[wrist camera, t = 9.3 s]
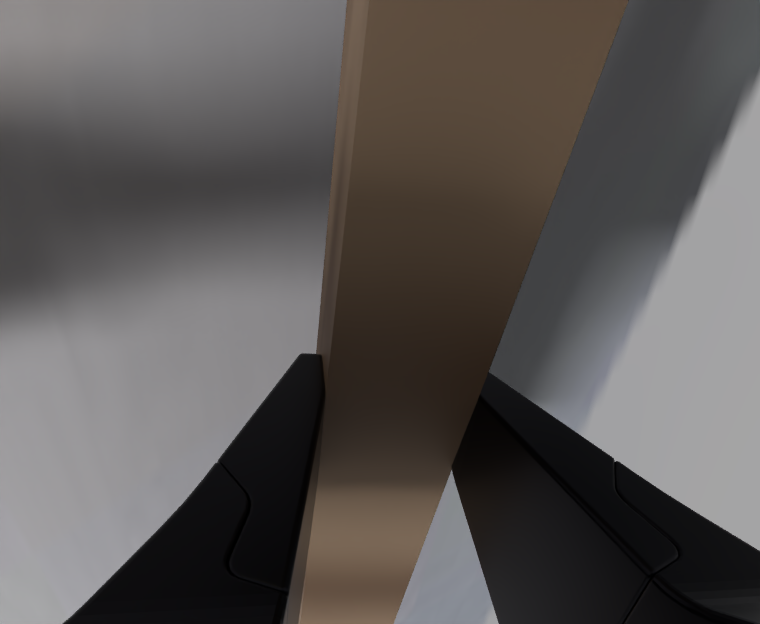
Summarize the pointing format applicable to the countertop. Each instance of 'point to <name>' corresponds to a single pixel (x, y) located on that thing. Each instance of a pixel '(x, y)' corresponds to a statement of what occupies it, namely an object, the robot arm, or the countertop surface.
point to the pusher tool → (429, 257)
